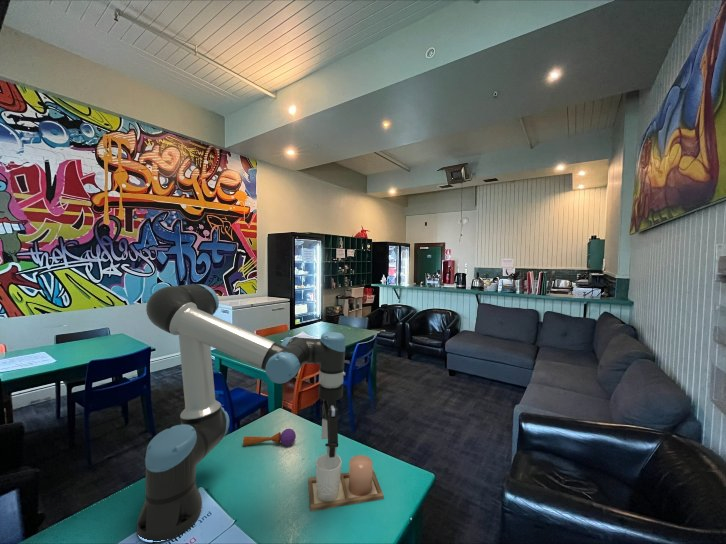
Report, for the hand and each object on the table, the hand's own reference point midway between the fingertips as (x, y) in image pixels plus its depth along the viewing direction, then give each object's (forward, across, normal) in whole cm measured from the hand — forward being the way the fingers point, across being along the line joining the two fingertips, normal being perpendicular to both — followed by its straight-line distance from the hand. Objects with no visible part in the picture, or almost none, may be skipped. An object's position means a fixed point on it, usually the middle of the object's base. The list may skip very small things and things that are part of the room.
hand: (328, 451), depth 91 cm
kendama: (+15, +31, +19) cm, 39 cm away
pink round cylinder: (+13, 0, -11) cm, 17 cm away
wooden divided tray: (+14, 0, -6) cm, 15 cm away
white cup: (+13, -1, 0) cm, 13 cm away
